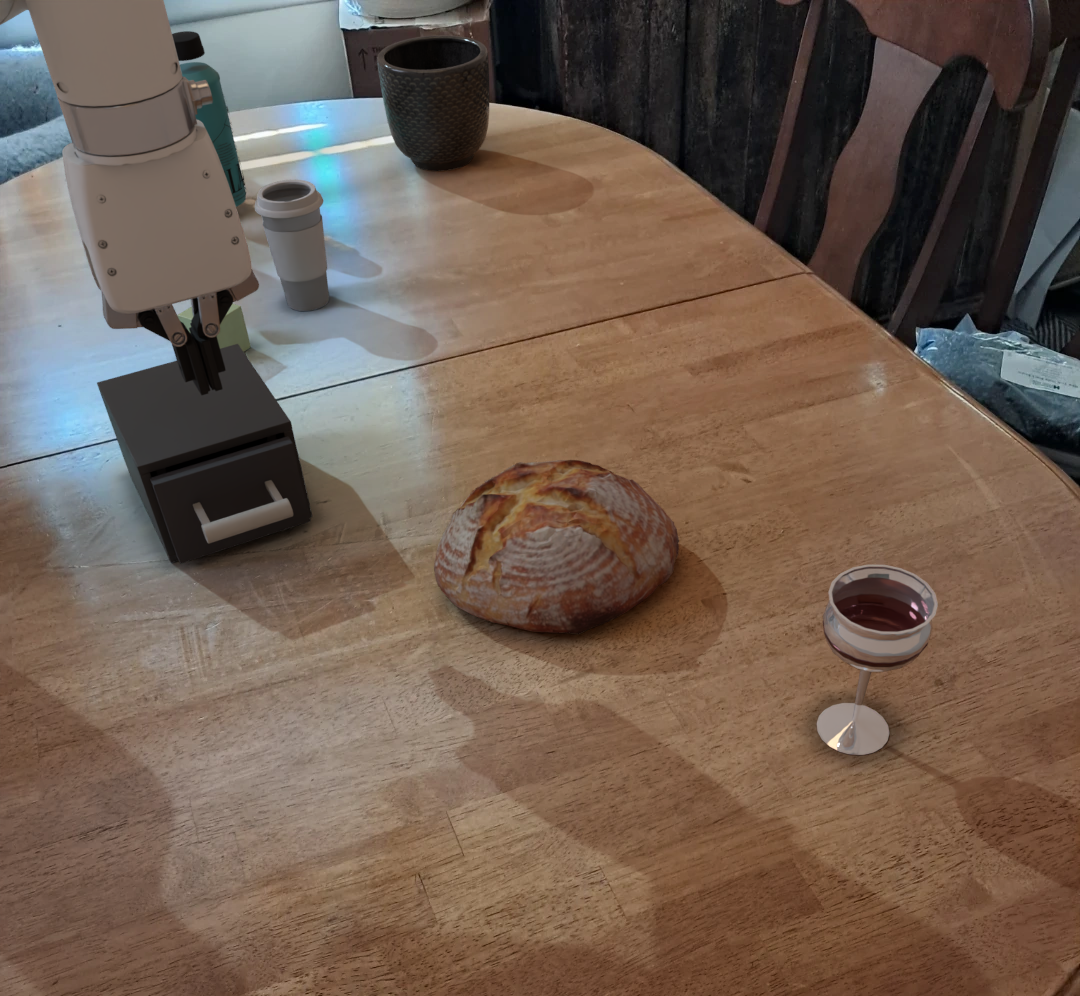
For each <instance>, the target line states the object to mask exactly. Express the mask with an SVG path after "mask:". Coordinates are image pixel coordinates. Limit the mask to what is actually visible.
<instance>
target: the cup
mask: <svg viewBox="0 0 1080 996" xmlns="http://www.w3.org/2000/svg"><path fill="white" fill-rule="evenodd" d="M323 204H324V198H323V196H322V193H321V192H319V190H317V188H316V186H315V184H314V183H313V182H311V181H308V180H303V179H284V180H283V179H282V180H278V181H273V182H271V183H268V184H266V185H264V186H262V187H261V188H260V189H259V190H258V192H257V198H256V200H255V202H254V211H255V212H256V213H257V214H258V215H260V216H261V220H262V227H263V231H264V235H265V237H266V240H267V244H268V247H269V252H270V254H271V257H272V261H273V264H274V267H275V271H276V274H277V277H278V278H279V280H280V283H281V288H282V290H283V294H284V297H285V300H286V304H287V306H288V308H290V309H291V310H294V311H299V312H311V311H315V310H319V309H321V308H323V307H324V306H326V305H327V304H328V303H329V302H330V293H329V283H328V273H327V271H328V262H327V250H326V242H325V232H324V222H323V216H322V214H321V207H322V206H323Z"/></svg>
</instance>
